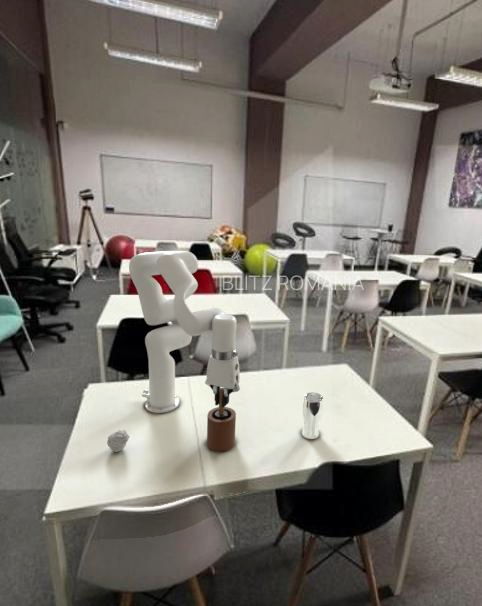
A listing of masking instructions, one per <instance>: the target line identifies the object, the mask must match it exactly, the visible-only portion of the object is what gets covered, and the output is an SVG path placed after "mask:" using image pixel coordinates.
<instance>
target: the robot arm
mask: <svg viewBox="0 0 482 606" xmlns="http://www.w3.org/2000/svg"><path fill="white" fill-rule="evenodd" d="M198 269H199V261H198V258H197V256H196V255H195V254H194V253H192V252H191V251H188V250H187V251H186V250H184V251H183V250H164V251H150V252H149V251H147V252H141V253H138V254H135V255H133V256H132V257H131V259H130V261H129V263H128V271H129V276H130V279H131V280H132V282H133V285H134V286H135V289H136V292H137V294H138V295H137V296H138V299H139V304H140V308H141V312H142V315H143V318H144V321H145V323H146V324H147V325H148V326H158V325H163V324H167V323H170V322H171V325H165V326H162V327H158V328H155V329H152V330H151V331H149V332H147V334H146V336H145V337H144V344H145V348H146V352H147V359H148V362H147V363H148V388H149V389H147V388H144V389H143V391H142V394H141V397H142V398H146V401H145V403H144V405H145V406H144V407H145V409H146V410H147V411H148V412H151V413H154V414H164V413H169V412H171V411H173V410H175V409H176V408H178V407H179V405H180V398H179V397H178V396H177V395H176V361H175V359H174V358H173V356H172V355H171V354H170V352H173V351H175V350H179V349H182V348H185V347H187V346H189V345H190V344H191V342H192V339H193V337H198V336H199V337H200V336H202V335H205V334H208V333H211V354H210V355H209V357H208V362H207V368H206V379H205V381H204V383H205V385H206V386H208V387H210V389H211V390H212V393H213V394H214V402H215V403H214V406H219V389H220V388H224V395H223V396H222V407H227V405H228V404H229V403H230V395H231V394H232V393H237V392H239V391H240V390H241V386H240V385H239V383H240V380H241V379H240V378H241V374H240V373H241V372H240V362H239V356H240V352H238V351H237V348H236V346H237V326H238V325H237V324H238V321H237V318H236V316H234V315H232V314H228V313H226V312H225V311H224V310H223V309H220V308H218V307H211V308H206V309H202V310H198V311H193V312H192V310H191V309H190V308H189V306H188V304H187V303H186V300H187V299H188V298H190V297H191V296H192V295H193V294H194V293H195V292H196V291H197V289H198V286H199V284H198V281H197V279H196V278H195V277H194V275H193V274H194V273H196V272H197V271H198ZM157 275H158V276H159V275H161V276H162V278H163V279H164V281H165V282H166V284H167V285H168V287H169V288H170V289H171V291H172V293H173V295H174V296H167V297H165V296H164V293H163V289H162V286H161V285H160V284H161V283H159V282H158V280H156V279H155V278H154V277H153V276H157Z"/></svg>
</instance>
